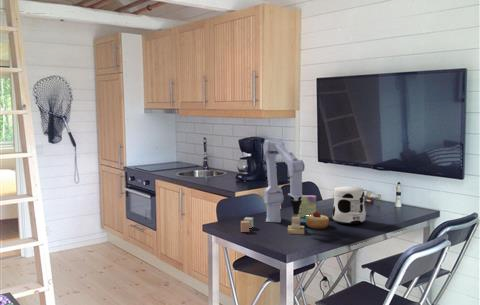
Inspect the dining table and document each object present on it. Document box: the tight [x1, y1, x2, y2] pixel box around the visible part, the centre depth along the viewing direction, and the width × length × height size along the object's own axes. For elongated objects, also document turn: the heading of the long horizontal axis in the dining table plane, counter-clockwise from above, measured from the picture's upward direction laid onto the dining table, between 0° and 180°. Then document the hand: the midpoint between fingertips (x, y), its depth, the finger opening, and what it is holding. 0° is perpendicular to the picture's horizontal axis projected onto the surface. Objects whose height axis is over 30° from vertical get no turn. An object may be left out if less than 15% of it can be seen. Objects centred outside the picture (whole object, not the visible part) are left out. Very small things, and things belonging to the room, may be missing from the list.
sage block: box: [243, 216, 254, 229], centre depth 225 cm, size 4×4×5 cm
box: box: [296, 194, 317, 218], centre depth 248 cm, size 10×6×12 cm, turn 84°
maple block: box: [291, 216, 301, 229], centre depth 217 cm, size 4×4×5 cm
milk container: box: [331, 185, 367, 225], centre depth 234 cm, size 17×17×18 cm
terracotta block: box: [240, 220, 250, 233], centre depth 218 cm, size 4×4×5 cm
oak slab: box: [287, 225, 305, 235], centre depth 218 cm, size 8×8×2 cm
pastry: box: [305, 209, 330, 230], centre depth 227 cm, size 12×12×9 cm
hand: (295, 212), depth 217 cm, fingers open, 7 cm apart
